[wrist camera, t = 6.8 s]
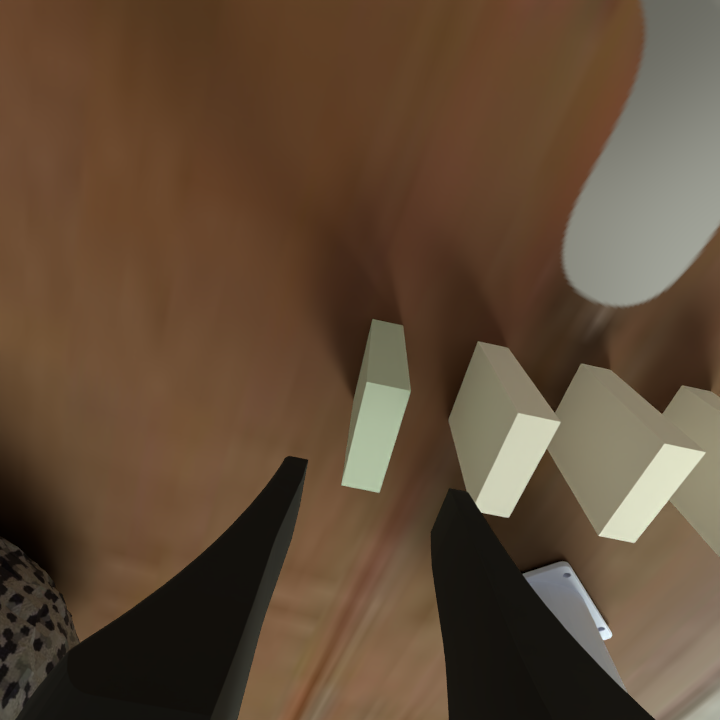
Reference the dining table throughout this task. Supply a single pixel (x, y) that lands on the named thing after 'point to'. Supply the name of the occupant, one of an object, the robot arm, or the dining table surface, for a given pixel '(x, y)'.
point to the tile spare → (377, 407)
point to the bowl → (28, 628)
